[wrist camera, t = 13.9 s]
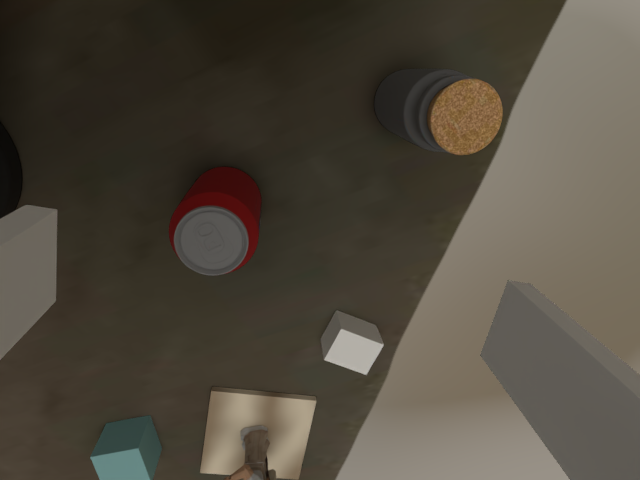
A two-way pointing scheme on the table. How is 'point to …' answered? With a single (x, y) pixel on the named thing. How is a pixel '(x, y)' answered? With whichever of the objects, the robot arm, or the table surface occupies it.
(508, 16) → the table surface
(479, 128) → the bottle
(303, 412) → the board
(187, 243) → the beverage can
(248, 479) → the toy
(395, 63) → the table surface
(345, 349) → the white block
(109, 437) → the teal block
